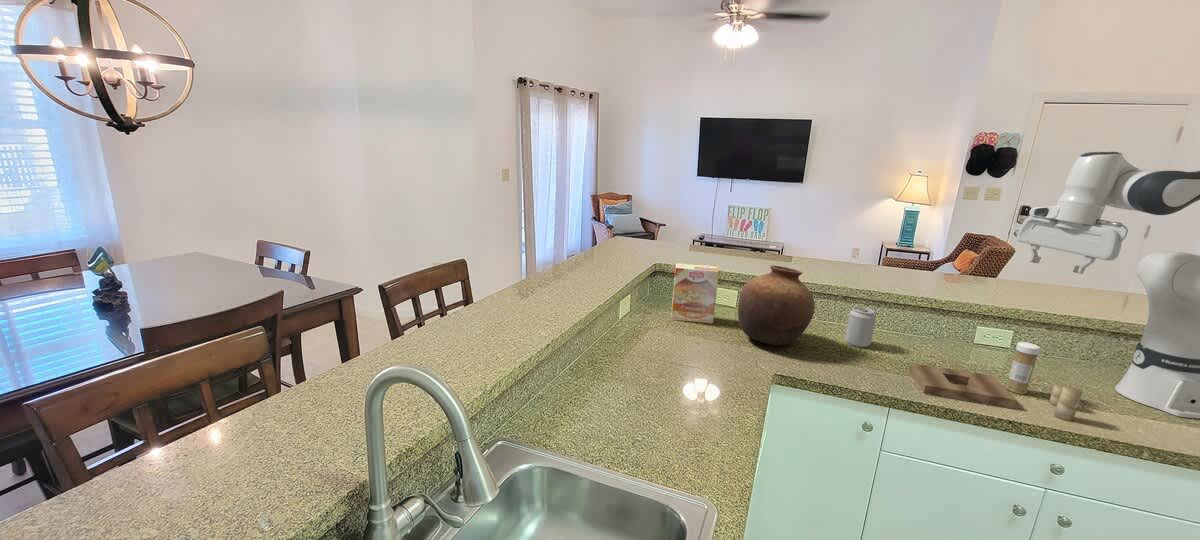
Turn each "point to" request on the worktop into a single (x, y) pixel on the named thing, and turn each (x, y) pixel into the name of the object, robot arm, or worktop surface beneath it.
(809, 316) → the pottery
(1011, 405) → the walnut board
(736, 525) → the worktop surface
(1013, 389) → the sprinkles bottle
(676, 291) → the coffeecake box
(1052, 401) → the short beech dowel
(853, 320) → the can
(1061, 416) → the medium beech dowel
